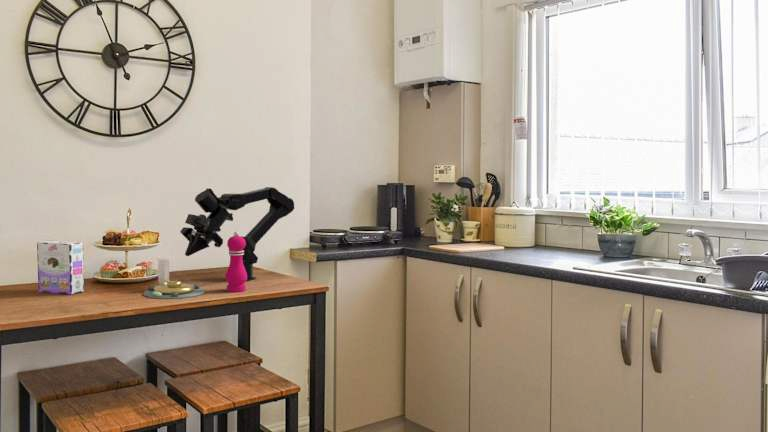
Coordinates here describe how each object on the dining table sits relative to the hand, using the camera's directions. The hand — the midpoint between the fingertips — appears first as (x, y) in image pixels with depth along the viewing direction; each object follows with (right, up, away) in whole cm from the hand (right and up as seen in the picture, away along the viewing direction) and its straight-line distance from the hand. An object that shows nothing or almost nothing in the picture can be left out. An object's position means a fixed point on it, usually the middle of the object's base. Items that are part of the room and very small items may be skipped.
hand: (186, 255), depth 228 cm
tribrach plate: (-1, -12, -10) cm, 15 cm away
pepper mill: (+18, -12, -3) cm, 22 cm away
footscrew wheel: (-2, -11, -9) cm, 14 cm away
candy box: (-37, -11, -11) cm, 41 cm away
